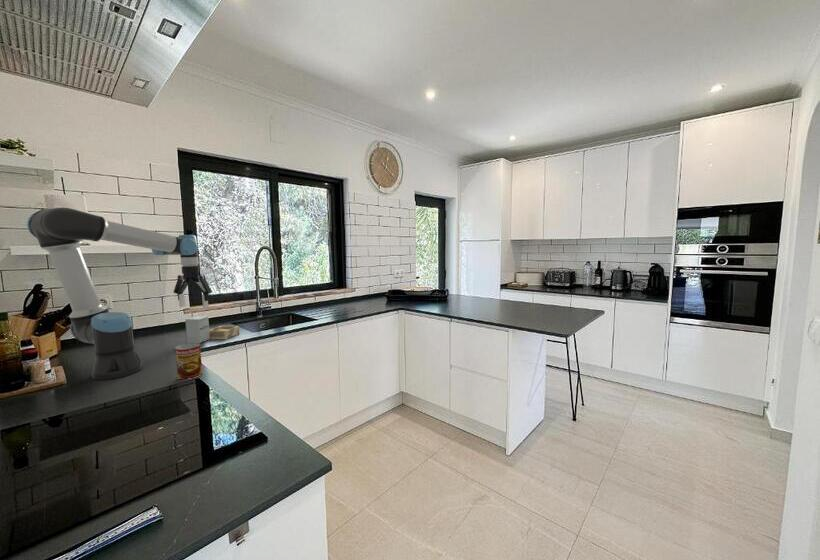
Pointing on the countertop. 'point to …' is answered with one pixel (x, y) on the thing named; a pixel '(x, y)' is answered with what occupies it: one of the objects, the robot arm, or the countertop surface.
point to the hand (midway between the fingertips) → (194, 307)
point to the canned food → (188, 360)
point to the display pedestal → (224, 332)
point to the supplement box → (197, 329)
